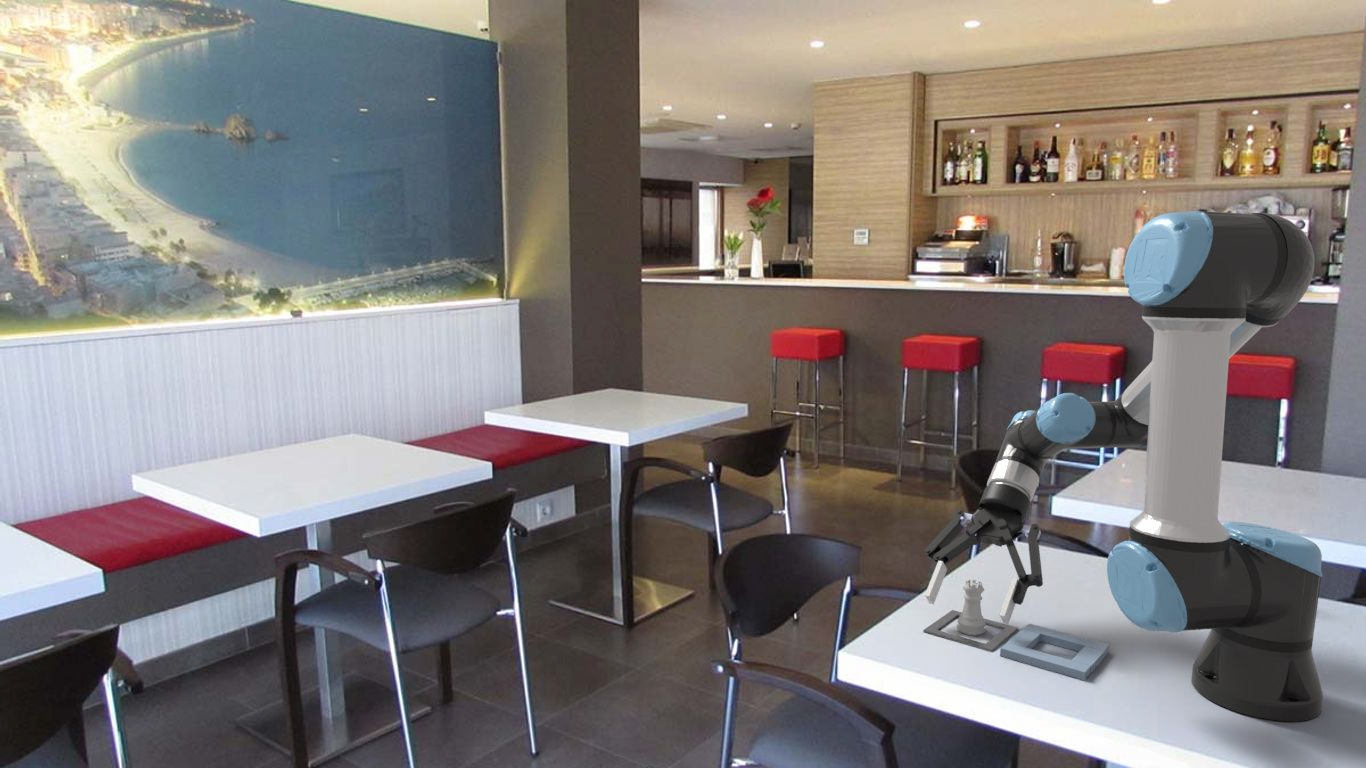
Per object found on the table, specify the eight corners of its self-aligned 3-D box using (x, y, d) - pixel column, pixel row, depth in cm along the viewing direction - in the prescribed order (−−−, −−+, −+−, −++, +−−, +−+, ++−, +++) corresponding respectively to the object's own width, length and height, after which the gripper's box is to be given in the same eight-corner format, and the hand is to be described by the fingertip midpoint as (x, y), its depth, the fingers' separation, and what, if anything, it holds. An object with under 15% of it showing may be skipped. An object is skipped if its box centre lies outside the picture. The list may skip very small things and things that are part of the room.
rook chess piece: (966, 637, 143) (969, 588, 142) (950, 626, 147) (953, 578, 146) (991, 635, 144) (994, 586, 143) (975, 623, 149) (978, 576, 147)
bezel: (1018, 629, 147) (1018, 627, 146) (991, 651, 138) (991, 649, 138) (952, 611, 153) (952, 609, 153) (923, 631, 145) (923, 630, 145)
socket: (1109, 652, 138) (1109, 644, 138) (1084, 680, 129) (1085, 672, 129) (1028, 630, 146) (1028, 623, 146) (999, 655, 137) (1000, 648, 137)
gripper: (1086, 520, 148) (1047, 641, 138) (946, 494, 163) (902, 601, 153) (1079, 494, 143) (1038, 618, 133) (935, 470, 158) (888, 579, 148)
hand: (965, 609), depth 143 cm, fingers open, 11 cm apart
